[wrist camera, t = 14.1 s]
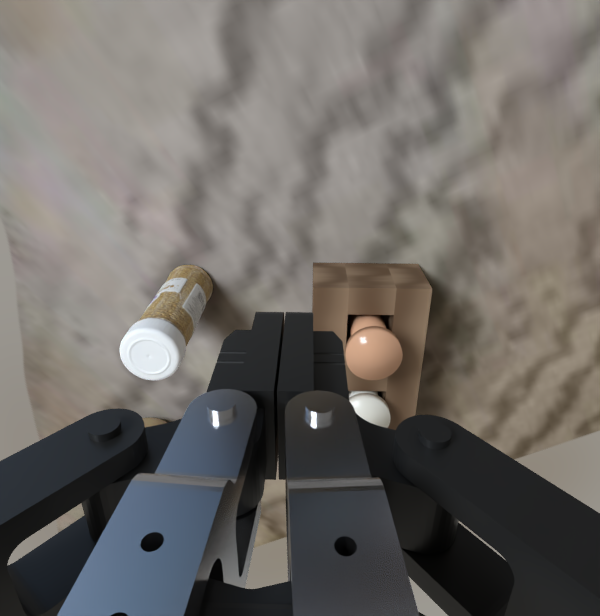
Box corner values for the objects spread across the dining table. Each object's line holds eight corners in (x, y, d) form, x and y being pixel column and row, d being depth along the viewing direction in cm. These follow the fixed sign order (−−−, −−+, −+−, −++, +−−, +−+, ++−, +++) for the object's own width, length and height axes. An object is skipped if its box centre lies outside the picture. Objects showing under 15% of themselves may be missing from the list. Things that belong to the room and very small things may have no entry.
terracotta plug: (391, 296, 44) (405, 332, 38) (387, 339, 46) (399, 380, 40) (342, 295, 44) (347, 331, 38) (340, 338, 46) (344, 379, 40)
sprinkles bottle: (173, 257, 46) (123, 321, 34) (219, 272, 46) (186, 340, 34) (163, 298, 48) (112, 372, 35) (207, 311, 48) (172, 390, 36)
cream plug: (382, 358, 49) (392, 399, 43) (378, 395, 51) (388, 439, 45) (337, 358, 49) (341, 399, 43) (336, 394, 51) (339, 438, 45)
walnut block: (418, 263, 45) (432, 288, 40) (394, 463, 56) (403, 503, 51) (313, 262, 46) (313, 287, 40) (309, 461, 56) (309, 501, 51)
